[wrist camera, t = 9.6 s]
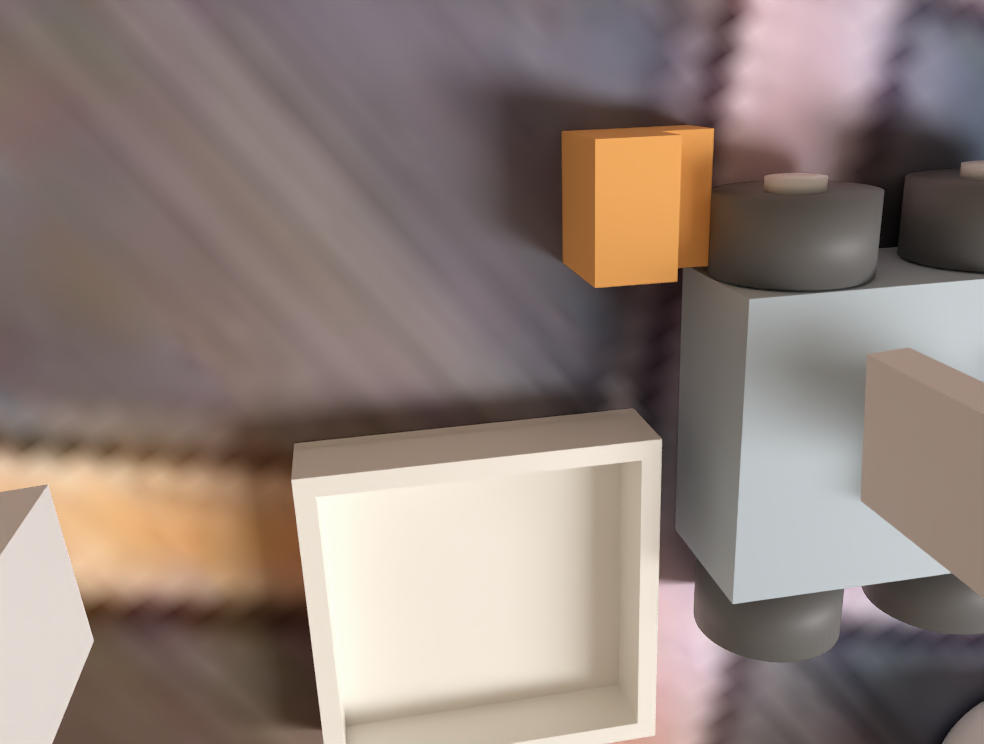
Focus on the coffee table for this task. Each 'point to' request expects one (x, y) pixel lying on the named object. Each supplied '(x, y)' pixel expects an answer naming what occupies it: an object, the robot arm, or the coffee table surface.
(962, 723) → the cup
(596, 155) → the block
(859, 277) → the trolley
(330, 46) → the coffee table surface
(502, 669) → the tray
